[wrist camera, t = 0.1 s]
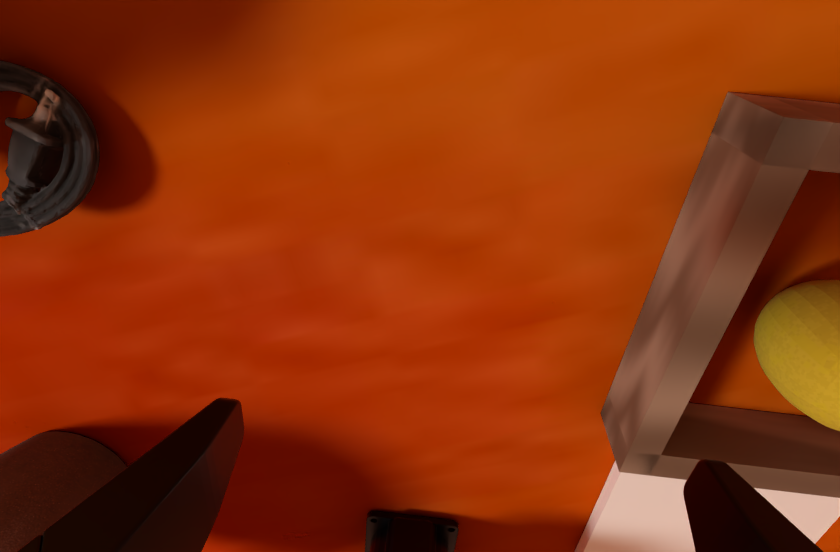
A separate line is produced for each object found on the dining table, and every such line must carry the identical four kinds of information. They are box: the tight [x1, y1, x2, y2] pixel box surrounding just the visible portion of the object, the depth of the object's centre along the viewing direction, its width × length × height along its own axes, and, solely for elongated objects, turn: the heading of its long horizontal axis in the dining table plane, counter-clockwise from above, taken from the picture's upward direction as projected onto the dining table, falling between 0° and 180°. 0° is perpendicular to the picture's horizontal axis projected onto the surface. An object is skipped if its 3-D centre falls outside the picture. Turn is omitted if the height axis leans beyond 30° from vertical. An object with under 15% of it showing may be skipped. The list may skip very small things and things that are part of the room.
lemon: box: [754, 280, 840, 431], centre depth 21 cm, size 6×6×8 cm
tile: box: [575, 461, 840, 552], centre depth 33 cm, size 12×14×1 cm
